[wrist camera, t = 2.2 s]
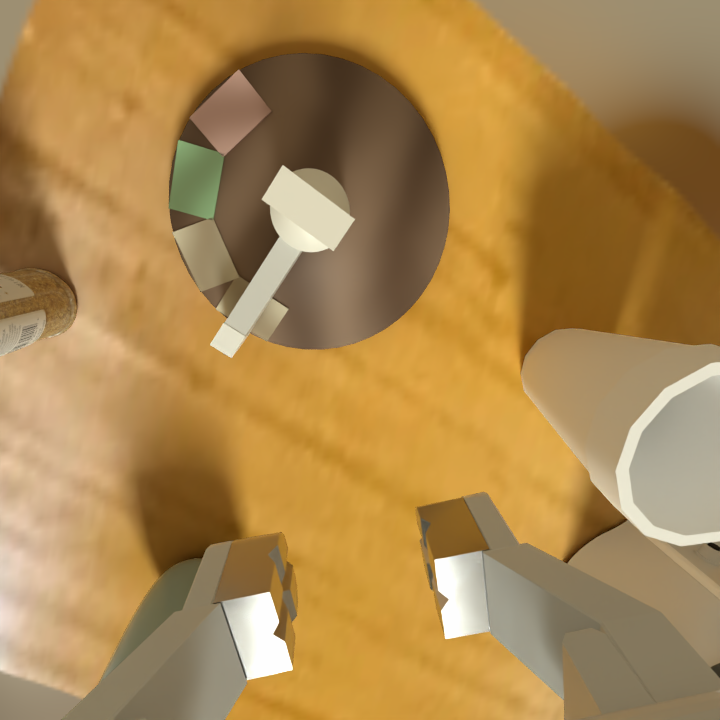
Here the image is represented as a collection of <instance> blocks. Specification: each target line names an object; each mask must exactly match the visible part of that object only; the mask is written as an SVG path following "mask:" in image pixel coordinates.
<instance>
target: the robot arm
mask: <svg viewBox="0 0 720 720" xmlns="http://www.w3.org/2000/svg"><path fill="white" fill-rule="evenodd" d="M415 508H416V518H417V524H418V527H419V531H420V534H421V537H422V538H421V540H420V544H421V550H422V556H423V561H424V566H425V570H426V574H427V578H428V581H429V585H430V589H431V590H433V591H434V597H435V603H436V609H437V612H438V616H439V619H440V622H441V625H442V629H443V632H444V635H445V639H448V638H454V637H460V636H466V635H471V634H477V633H483V632H489V631H491V634H492V635H493V636H494V637H495V638H496V639H497V640H498V641H499V642H500V643H501V644H503V645H504V646H505V647H506V648H507V649H508V650H509V651H510V652H511V653H512V654H513V655H515V656H516V657H517V658H518V659H519V660H520V661H521V662H522V663H523V664H524V665H526V666H527V667H528V668H529V669H530V670H531V671H532V672H533V673H534V674H535V675H536V676H538V677H539V678H540V679H541V680H542V681H543V682H544V683H545V684H546V685H547V686H549V687H550V688H551V689H552V690H553V691H554V692H555V693H556V694H557V695H558V696H560V697H561V698H562V699H563V700H564V720H720V541H718V542H710V543H703V544H695V545H687V546H678V545H675V544H672V543H668V542H665V541H662V540H658V539H655V538H652V537H648V536H645V535H644V534H643V533H642V532H641V531H640V530H639V529H638V528H637V527H635V526H634V525H633V524H632V523H631V522H630V521H629V520H627V521H626V522H624V523H623V524H621V525H619V526H618V527H616V528H614V529H612V530H610V531H608V532H606V533H604V534H602V535H600V536H598V537H596V538H595V539H593V540H592V541H590V542H589V543H588V544H586V545H585V546H584V547H583V548H581V549H580V550H579V551H578V552H577V553H576V554H575V555H574V556H573V557H572V558H571V559H570V561H569V562H568V563H565V562H563V561H561V560H559V559H557V558H555V557H553V556H551V555H549V554H547V553H545V552H543V551H542V550H540V549H538V548H536V547H534V546H532V545H530V544H528V543H524V544H519V543H518V541H517V539H516V538H515V536H514V535H513V533H512V531H511V530H510V528H509V527H508V525H507V524H506V522H505V520H504V519H503V517H502V516H501V514H500V513H499V511H498V509H497V508H496V506H495V505H494V503H493V501H492V500H491V498H490V497H489V495H488V494H487V493H485V492H481V493H476V494H472V495H467V496H463V497H461V498H458V499H453V500H447V501H442V502H437V503H432V504H427V505H422V506H417V507H415ZM287 553H288V546H287V543H286V539H285V536H284V534H283V533H282V532H279V533H273V534H267V535H261V536H255V537H249V538H244V539H238V540H235V541H227V542H222V543H216V544H211V545H210V546H209V547H208V548H207V549H206V551H205V553H204V556H203V558H202V561H201V564H200V566H199V569H198V571H197V574H196V576H195V579H194V581H193V584H192V587H191V589H190V592H189V594H188V597H187V599H186V602H185V605H184V607H183V610H181V611H176V612H174V613H173V614H172V615H171V616H170V617H169V618H168V619H167V620H166V621H164V622H163V623H162V624H161V625H160V626H159V627H158V628H157V629H156V630H155V631H154V632H153V633H152V634H151V635H150V636H149V637H148V638H147V639H146V640H145V641H143V642H142V643H141V644H140V645H139V646H138V647H137V648H136V649H135V650H134V651H133V652H132V653H131V654H130V655H129V656H128V657H127V658H126V659H125V660H124V661H122V662H121V663H120V664H119V665H118V666H117V667H116V668H115V669H114V670H113V671H112V672H111V673H110V674H109V675H108V676H107V677H106V678H105V679H104V680H102V681H101V682H100V683H99V684H98V685H97V686H96V687H95V688H94V689H93V690H92V691H91V692H90V693H89V694H88V695H87V696H86V697H85V698H84V699H83V700H81V701H80V702H79V703H78V704H77V705H76V706H75V707H74V708H73V709H72V710H71V711H70V712H69V713H68V714H67V715H66V716H65V717H64V718H63V719H62V720H225V718H226V717H227V715H228V714H229V712H230V710H231V709H232V707H233V705H234V704H235V702H236V701H237V699H238V697H239V696H240V694H241V692H242V691H243V689H244V688H245V686H246V684H247V681H246V680H249V679H254V678H258V677H262V676H267V675H271V674H275V673H279V672H284V671H288V670H292V669H293V658H294V646H295V633H294V629H293V625H292V621H293V620H294V619H295V617H296V616H297V607H298V596H297V583H296V577H295V573H294V569H293V565H291V564H290V563H289V562H288V561H287Z"/></svg>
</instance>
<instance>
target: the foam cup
mask: <svg viewBox="0 0 720 720" xmlns="http://www.w3.org/2000/svg"><path fill="white" fill-rule="evenodd" d="M521 378H522V383H523V387H524V391H525V392H526V393H527V395H528V397H529V398H530V399H531V400H532V402H533V403H534V404H535V405H536V407H537V408H538V409H539V410H540V412H541V413H542V414H543V415H544V417H545V418H546V419H547V420H548V422H549V423H550V424H551V425H552V427H553V428H554V429H555V430H556V432H557V433H558V434H559V435H560V437H561V438H562V439H563V440H564V442H565V443H566V444H567V445H568V447H569V448H570V449H571V450H572V452H573V453H574V454H575V455H576V457H577V458H578V459H579V460H580V462H581V463H582V464H583V465H584V467H585V468H586V469H587V470H588V472H589V474H590V480H591V481H592V483H593V484H594V485H595V486H596V487H597V488H598V489H599V490H600V491H601V493H602V494H603V495H604V496H605V497H606V498H607V499H608V500H609V501H610V503H611V504H612V505H613V506H614V507H615V508H616V509H618V510H619V511H620V512H621V513H622V514H623V515H624V516H625V517H626V518H627V519H628V520H629V521H630V522H631V523H632V524H633V525H634V526H635V527H637V528H638V529H639V530H640V531H641V532H642V533H643V534H644V535H645V536H648V537H652V538H655V539H658V540H662V541H665V542H668V543H672V544H675V545H678V546H687V545H695V544H703V543H710V542H718V541H720V346H717V345H714V344H703V345H687V344H681V343H674V342H667V341H660V340H654V339H647V338H640V337H633V336H626V335H620V334H613V333H606V332H599V331H592V330H586V329H575V328H569V329H559V330H554V331H552V332H551V333H549V334H547V335H545V336H544V337H542V338H540V339H538V340H537V341H536V343H535V344H534V345H533V346H532V348H531V349H530V350H529V352H528V353H527V354H526V355H525V359H524V363H523V367H522V371H521Z"/></svg>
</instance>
